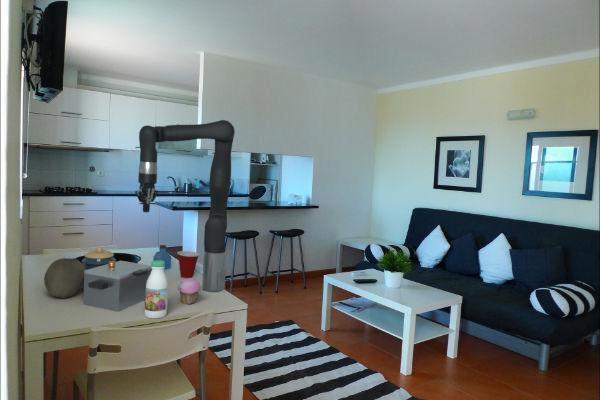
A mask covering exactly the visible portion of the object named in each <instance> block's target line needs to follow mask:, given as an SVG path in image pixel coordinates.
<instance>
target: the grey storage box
mask: <svg viewBox="0 0 600 400" xmlns="http://www.w3.org/2000/svg"><path fill="white" fill-rule="evenodd" d="M151 271H152V269H150V270H148V273H147V274H144V275H141V276H134V275H132V276H129V277H126V278H123V279H120V280H119V279H113V278H108V277H103V276H97V275H92V274H86V273H84V290H83V300H82V301H83V302H82V303H83V305H85V306H90V307H94V308H99V309H104V310H108V311H114V312H117V311H118V312H121V311H123V310H126V309H127V308H130V307H132V306H135V305H137V304H139V303H141V302H145V294H146V283H147V280H148V278H149V276H150V274H151Z"/></svg>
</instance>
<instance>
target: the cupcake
mask: <svg viewBox="0 0 600 400" xmlns="http://www.w3.org/2000/svg"><path fill="white" fill-rule="evenodd" d="M201 289H202V284H201V283H200V282H199V281H198V280H197V279H196V278H193V277H192V278H183V280H181V281H180V283H179V284H178V285H177V290H178V292H179V295H180V297H179V299H180V303H182V304H184V305H191V304H194V303H195V302H196V301H197V298H198V295H199V293H200V291H201Z"/></svg>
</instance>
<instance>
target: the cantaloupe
mask: <svg viewBox="0 0 600 400" xmlns="http://www.w3.org/2000/svg"><path fill="white" fill-rule="evenodd" d="M85 270H86V269H85V267H84V265H83V262H82V261H79V260H78V259H75V258H71V257H70V258H67V257H65V258H58V259H56V260H54V261H52V263H51V264H50V265H49V267H48V268H47V269H46V271H45V273H44V277H43V281H44V282H43V283H44V287H45V289H46V291H47V292H48V294H50V295H51V296H53V297H56V298H60V299H66V298H67V299H68V297H71V296H73V295H75V294H76V293H78V291H79V290H80V289H82V284H83V283H84V271H85Z"/></svg>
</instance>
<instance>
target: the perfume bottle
mask: <svg viewBox="0 0 600 400" xmlns="http://www.w3.org/2000/svg"><path fill="white" fill-rule="evenodd" d="M158 250H159V251H156V253H155V254H154V255H152V257H153V258H152V261H155V260H162V261H165V268H164V271H166V270H171V268H172V266H171V265H172V255H171V254H170V252H169V251H167V245H165V244H160V245H159V248H158Z"/></svg>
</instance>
